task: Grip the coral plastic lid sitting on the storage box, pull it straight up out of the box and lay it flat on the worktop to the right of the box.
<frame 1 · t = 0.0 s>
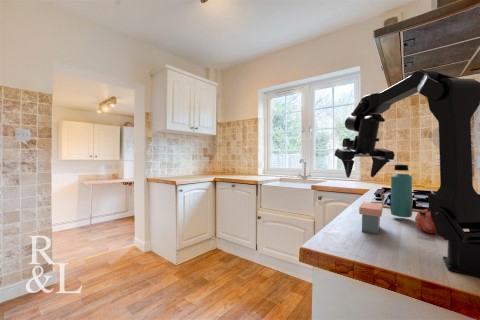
hand: (359, 177, 79), 15 cm above the table, tool pointing down, fingers open, 9 cm apart
lid: (371, 211, 69), point 5 cm above the table, touching box
box: (371, 229, 69), on the table
pomegranate: (430, 232, 66), on the table
beverage bottle: (400, 219, 80), on the table
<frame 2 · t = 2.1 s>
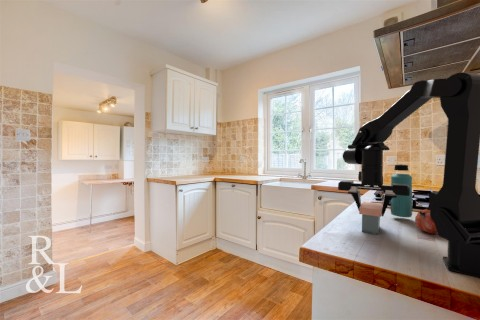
hand: (371, 214, 69), 5 cm above the table, tool pointing down, fingers closed on lid, 6 cm apart
lid: (371, 211, 69), point 5 cm above the table, touching box, gripper
everything else where it was.
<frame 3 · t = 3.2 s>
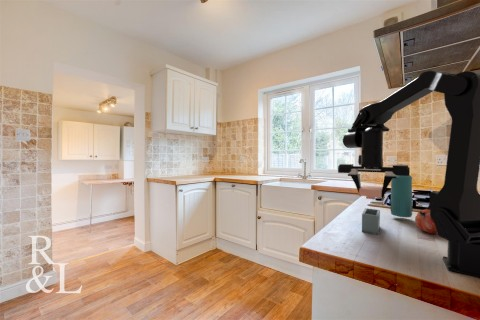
hand: (371, 196, 69), 10 cm above the table, tool pointing down, fingers closed on lid, 6 cm apart
lid: (371, 194, 69), point 11 cm above the table, touching gripper
everything else where it was.
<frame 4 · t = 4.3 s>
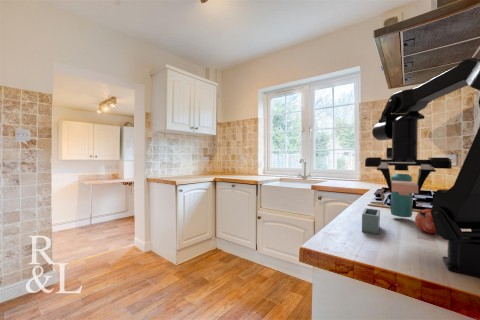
hand: (403, 193, 62), 13 cm above the table, tool pointing down, fingers closed on lid, 6 cm apart
lid: (403, 189, 62), point 14 cm above the table, touching gripper
everything else where it was.
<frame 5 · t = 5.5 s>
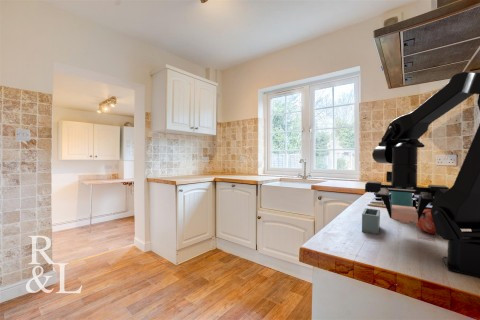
hand: (403, 219, 62), 5 cm above the table, tool pointing down, fingers closed on lid, 6 cm apart
lid: (403, 216, 62), point 6 cm above the table, touching gripper
everything else where it was.
when the fingers open (2 cm above the table, at t = 6.6 s): lid drops 2 cm, point 1 cm above the table.
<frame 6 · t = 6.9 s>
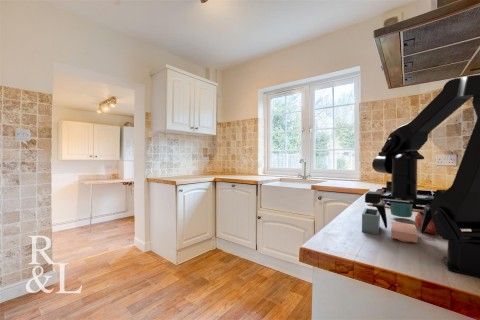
hand: (403, 230, 62), 2 cm above the table, tool pointing down, fingers open, 8 cm apart
lid: (403, 234, 62), point 1 cm above the table
everything else where it was.
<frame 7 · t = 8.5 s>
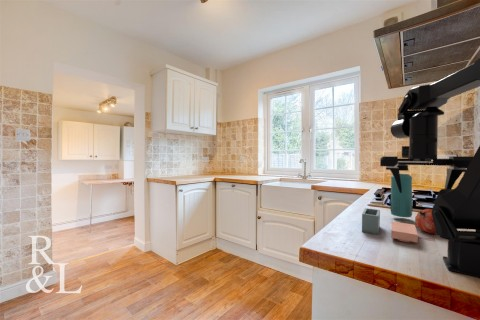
hand: (422, 194, 58), 13 cm above the table, tool pointing down, fingers open, 9 cm apart
nothing on the table moved.
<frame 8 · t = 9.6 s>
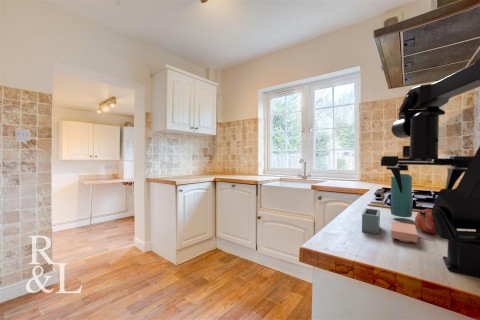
hand: (422, 194, 58), 13 cm above the table, tool pointing down, fingers open, 9 cm apart
nothing on the table moved.
at the end: lid inside the target area (0.0 cm from its centre), point 0.9 cm above the table; lid tilted 0°; lid touching table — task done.
